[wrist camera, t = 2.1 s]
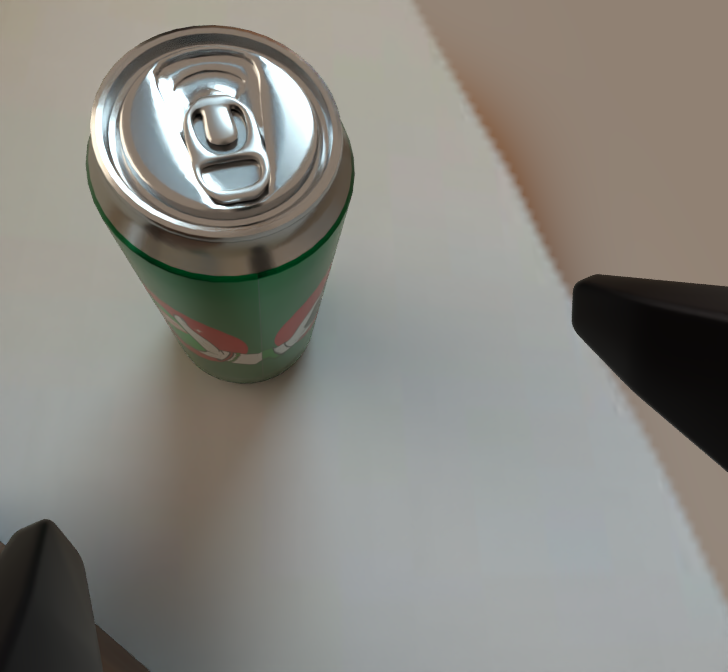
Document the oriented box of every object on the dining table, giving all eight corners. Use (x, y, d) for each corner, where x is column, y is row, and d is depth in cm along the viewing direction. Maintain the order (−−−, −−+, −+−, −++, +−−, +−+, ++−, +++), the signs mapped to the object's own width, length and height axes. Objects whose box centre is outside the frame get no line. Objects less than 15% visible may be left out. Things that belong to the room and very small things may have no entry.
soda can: (293, 248, 22) (320, -6, 11) (327, 366, 21) (399, 225, 10) (164, 275, 21) (41, 21, 9) (194, 401, 20) (95, 288, 8)
